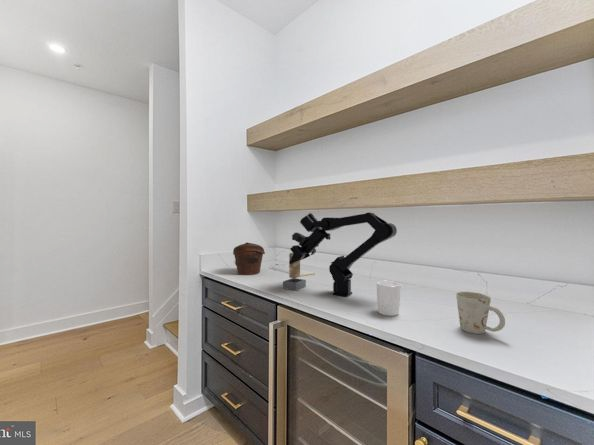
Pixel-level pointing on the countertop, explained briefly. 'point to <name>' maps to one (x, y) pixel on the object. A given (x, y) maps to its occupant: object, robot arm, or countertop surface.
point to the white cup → (388, 297)
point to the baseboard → (286, 270)
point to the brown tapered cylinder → (248, 258)
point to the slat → (294, 268)
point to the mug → (476, 312)
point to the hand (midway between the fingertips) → (292, 262)
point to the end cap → (294, 284)
